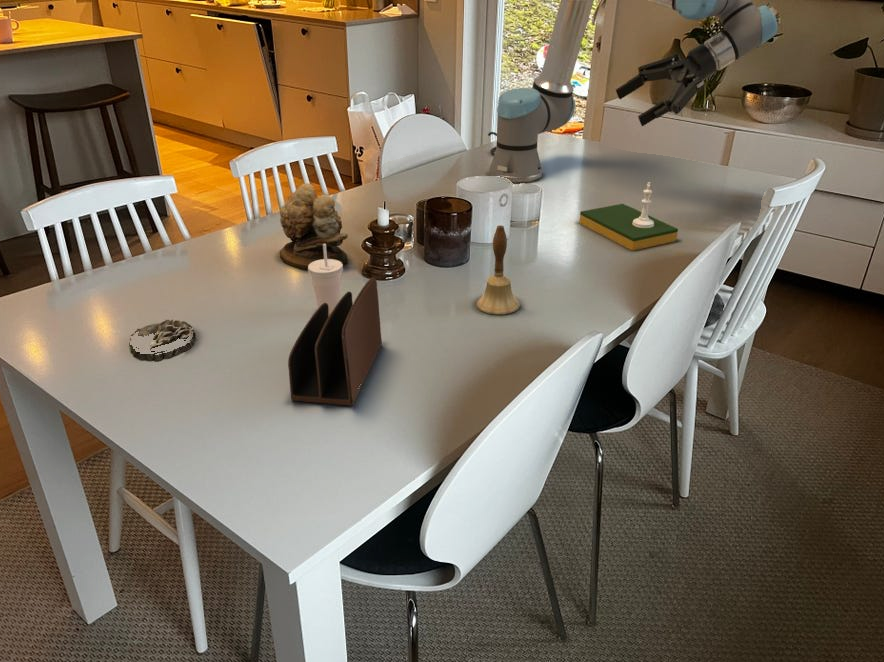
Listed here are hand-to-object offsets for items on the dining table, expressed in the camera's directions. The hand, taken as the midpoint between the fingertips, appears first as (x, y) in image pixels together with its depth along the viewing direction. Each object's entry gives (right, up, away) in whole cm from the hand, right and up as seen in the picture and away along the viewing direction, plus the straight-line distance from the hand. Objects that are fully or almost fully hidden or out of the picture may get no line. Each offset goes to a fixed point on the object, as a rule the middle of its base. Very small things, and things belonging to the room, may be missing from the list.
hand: (628, 107), depth 179 cm
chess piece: (+2, -29, -5) cm, 30 cm away
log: (-94, -58, -48) cm, 120 cm away
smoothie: (-66, -52, -38) cm, 92 cm away
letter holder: (-61, -63, -56) cm, 104 cm away
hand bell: (-34, -50, -35) cm, 70 cm away
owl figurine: (-73, -39, -16) cm, 84 cm away
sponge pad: (-1, -30, -1) cm, 30 cm away
